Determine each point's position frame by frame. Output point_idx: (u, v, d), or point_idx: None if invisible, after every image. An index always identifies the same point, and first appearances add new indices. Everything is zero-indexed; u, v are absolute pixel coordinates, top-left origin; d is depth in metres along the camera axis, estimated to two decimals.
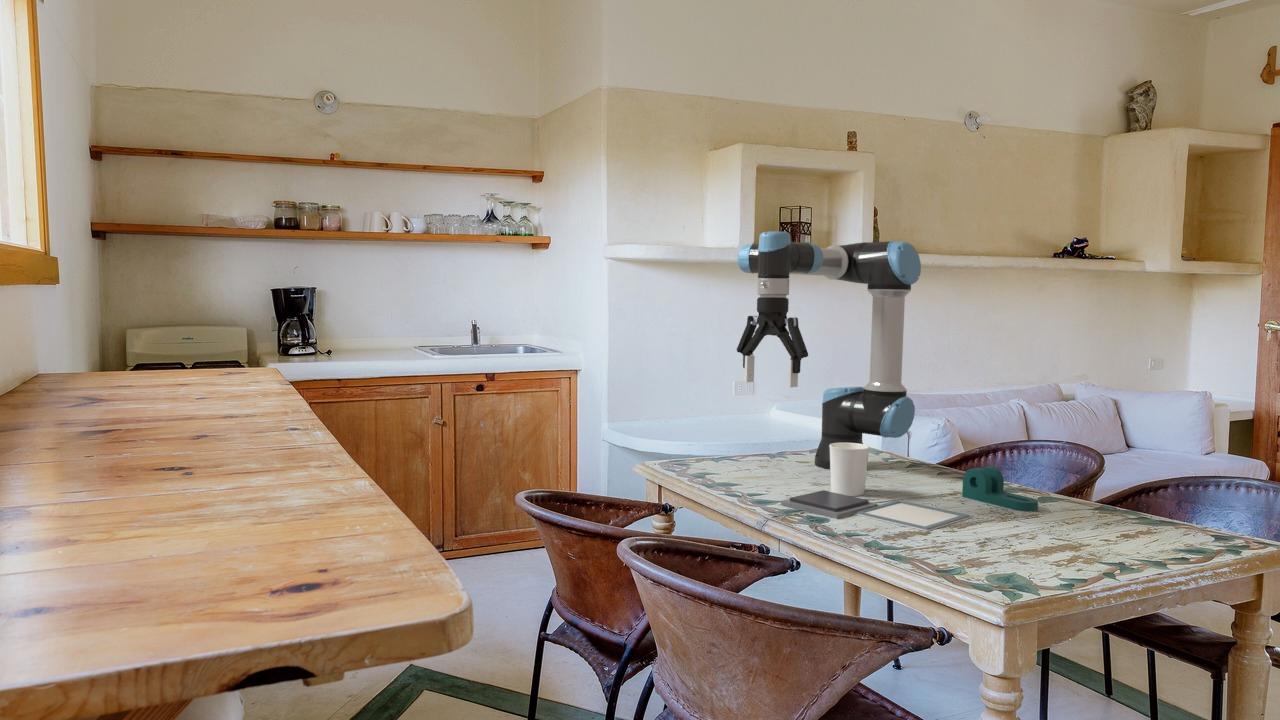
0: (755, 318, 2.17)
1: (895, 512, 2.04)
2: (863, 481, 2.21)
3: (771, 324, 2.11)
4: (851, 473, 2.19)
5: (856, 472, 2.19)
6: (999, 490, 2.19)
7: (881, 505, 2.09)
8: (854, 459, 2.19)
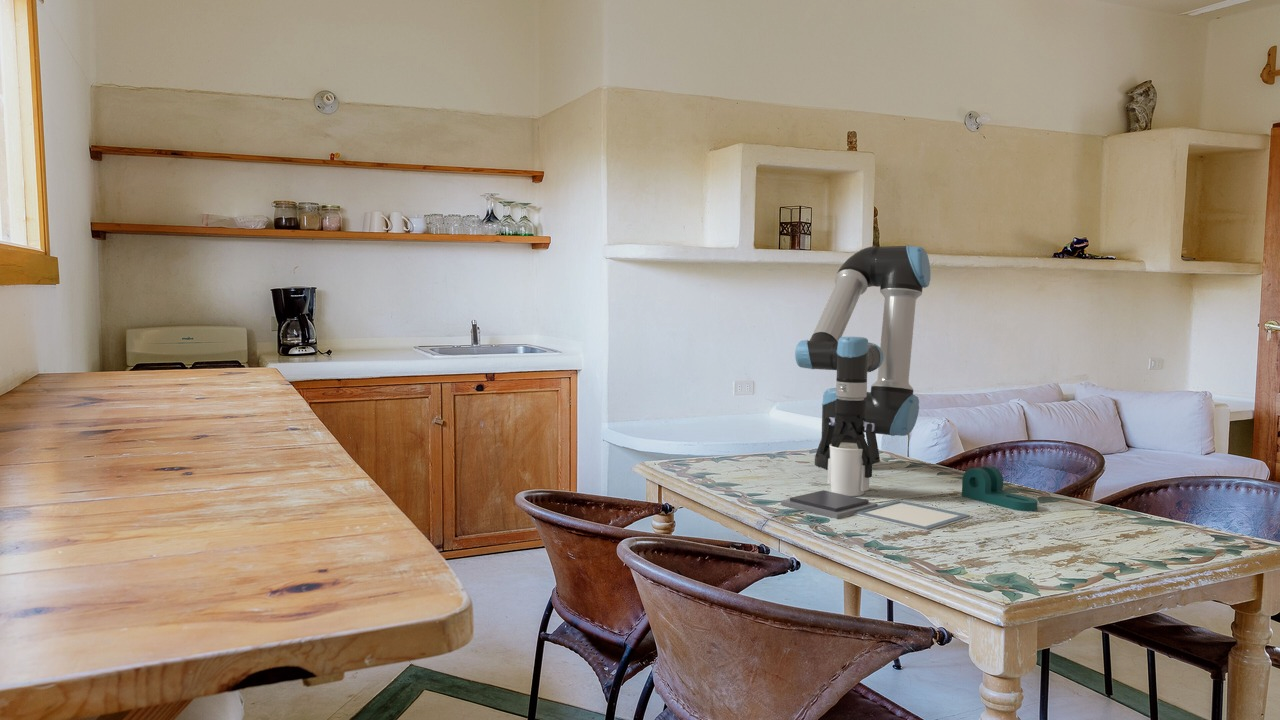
0: (832, 419, 2.26)
1: (895, 512, 2.04)
2: None
3: (850, 426, 2.21)
4: (851, 473, 2.19)
5: (856, 472, 2.19)
6: (999, 490, 2.19)
7: (881, 505, 2.09)
8: (854, 459, 2.19)
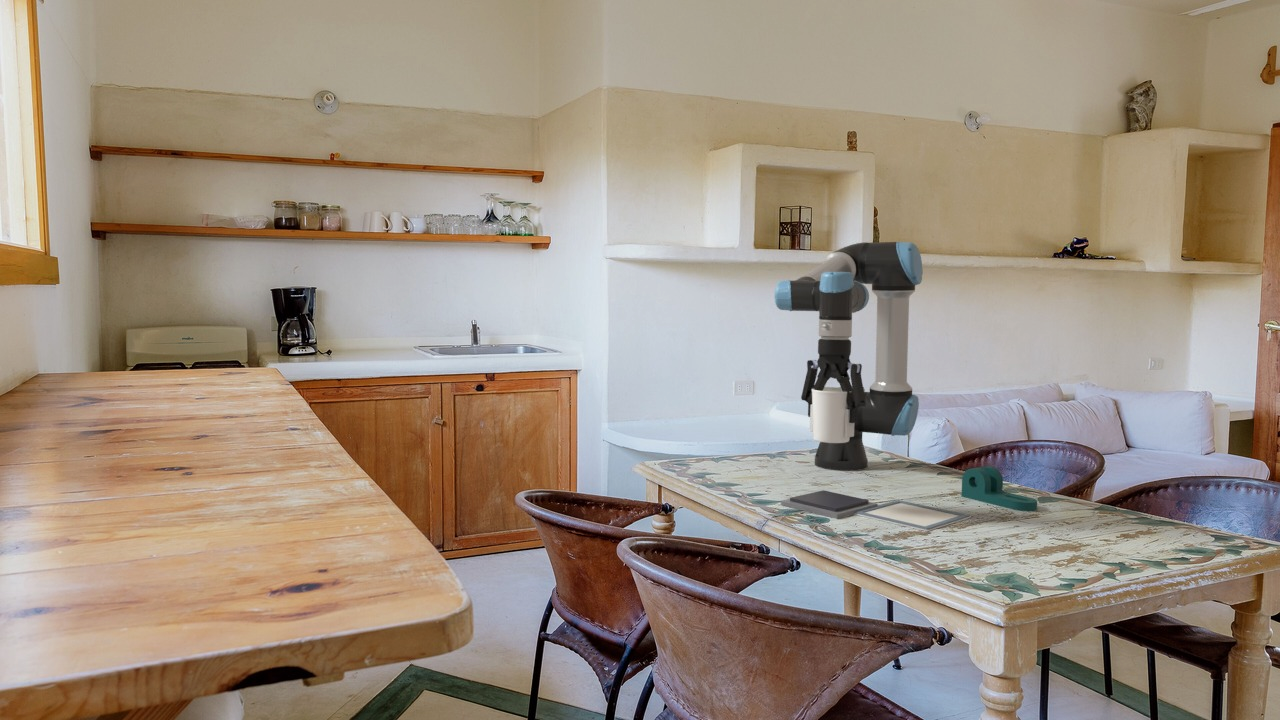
0: (815, 361, 2.10)
1: (895, 512, 2.04)
2: None
3: (833, 367, 2.04)
4: (835, 418, 2.03)
5: (840, 417, 2.03)
6: (998, 490, 2.19)
7: (881, 505, 2.09)
8: (838, 403, 2.03)
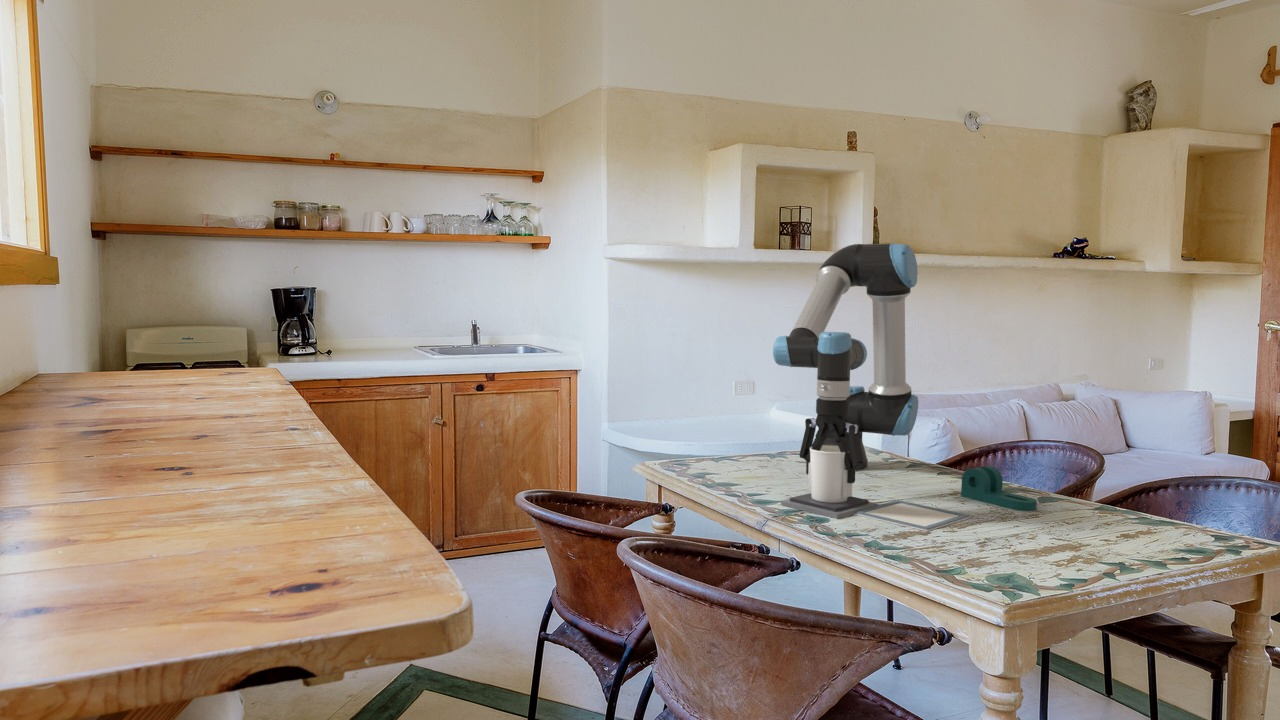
0: (813, 420, 2.11)
1: (895, 512, 2.04)
2: None
3: (831, 427, 2.05)
4: (833, 478, 2.04)
5: (838, 477, 2.04)
6: (998, 490, 2.19)
7: (881, 505, 2.09)
8: (836, 463, 2.04)
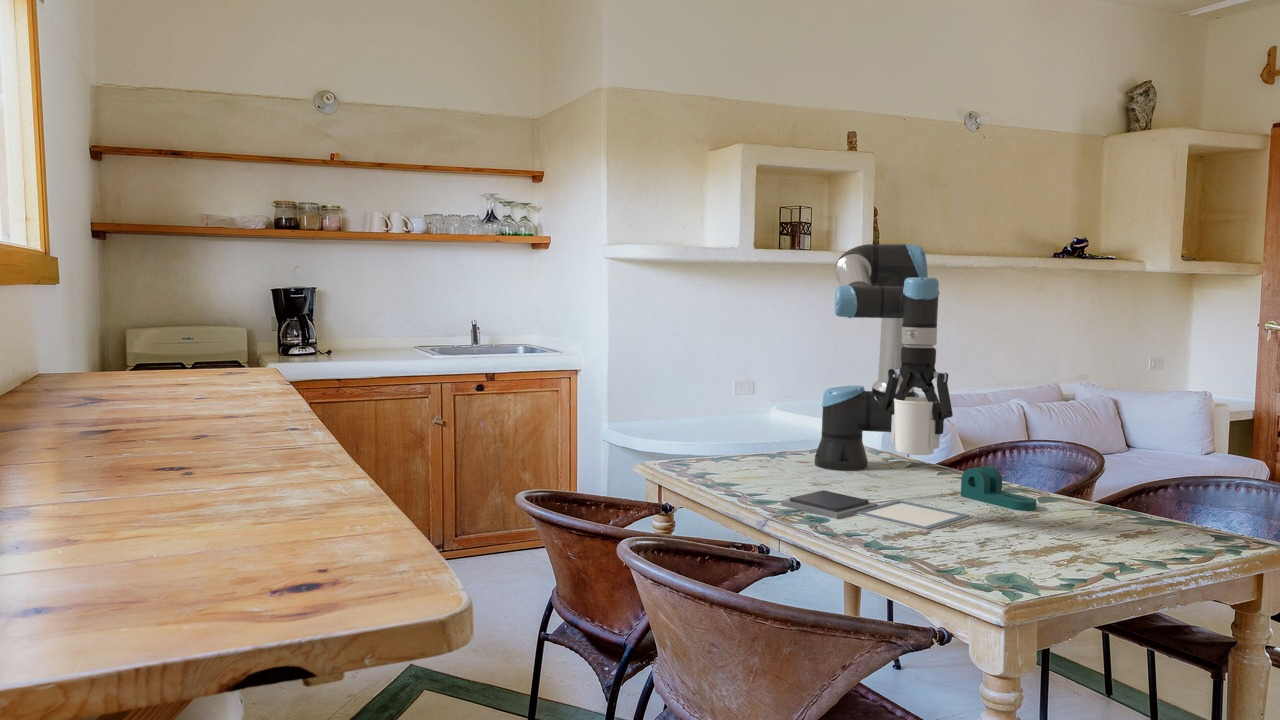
0: (897, 370, 2.03)
1: (895, 512, 2.04)
2: None
3: (918, 376, 1.97)
4: (920, 429, 1.96)
5: (925, 428, 1.96)
6: (997, 490, 2.19)
7: (881, 505, 2.09)
8: (923, 413, 1.95)
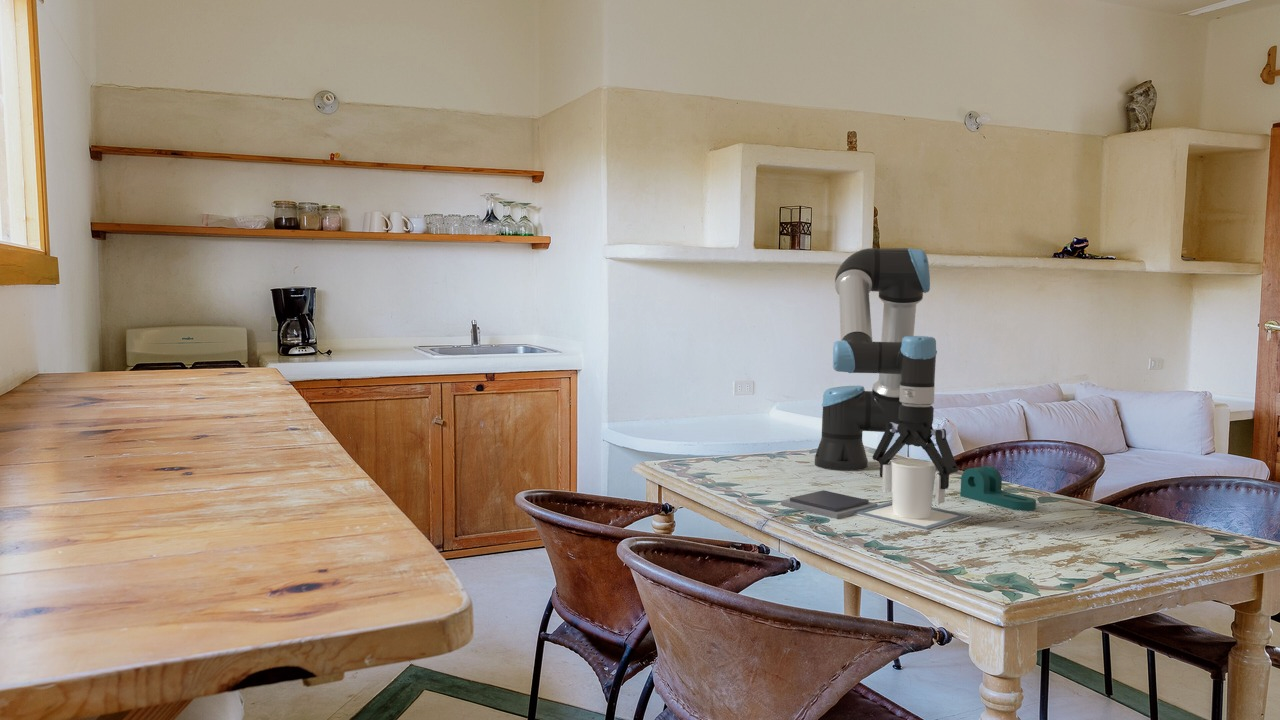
0: (895, 425, 2.04)
1: None
2: (930, 502, 1.99)
3: (916, 435, 1.98)
4: (917, 494, 1.97)
5: (923, 492, 1.97)
6: (997, 490, 2.19)
7: (881, 505, 2.09)
8: (921, 478, 1.96)
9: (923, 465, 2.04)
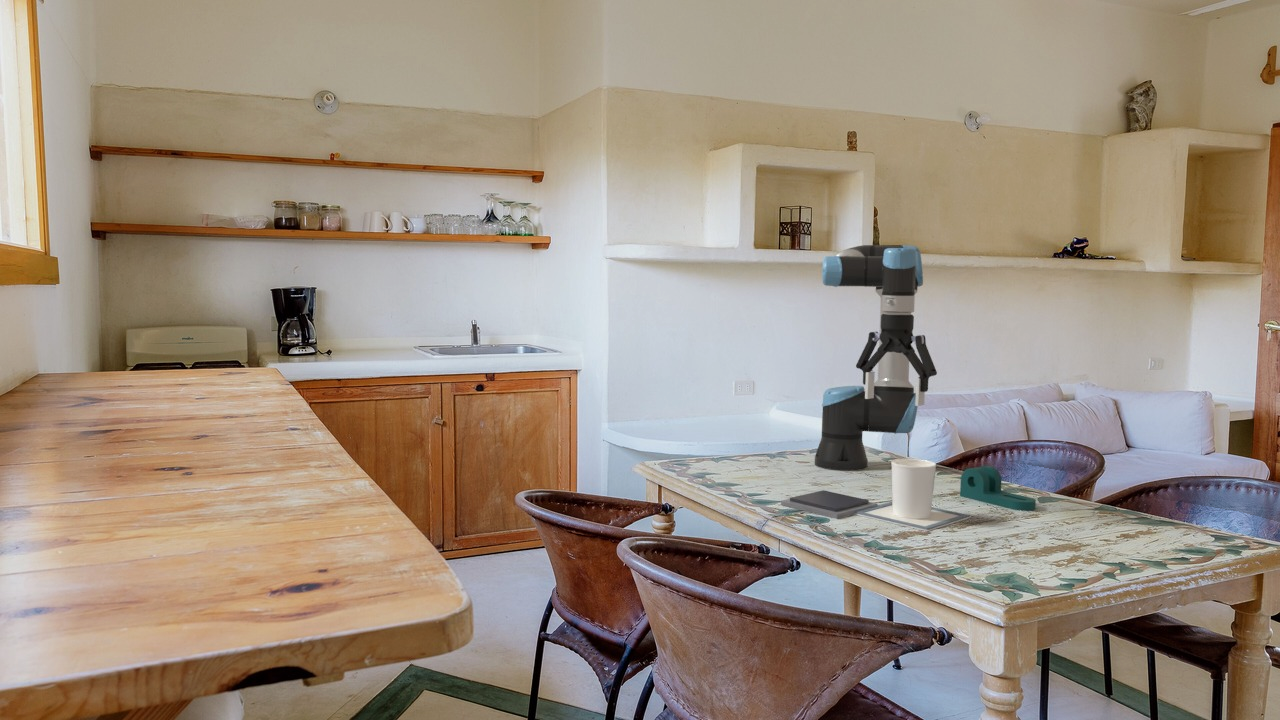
0: (877, 334, 2.14)
1: None
2: (930, 502, 1.99)
3: (897, 342, 2.09)
4: (917, 494, 1.97)
5: (922, 492, 1.97)
6: (997, 489, 2.19)
7: (881, 505, 2.09)
8: (920, 478, 1.96)
9: (923, 465, 2.04)
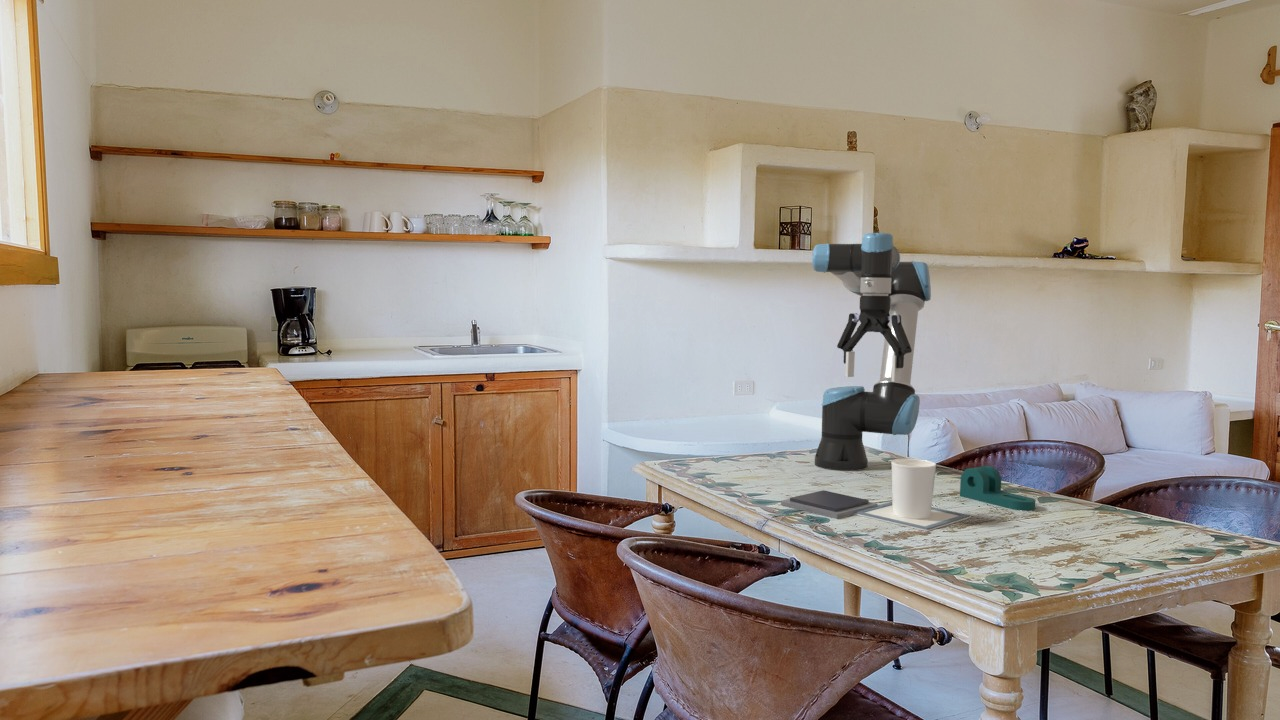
0: (856, 316, 2.27)
1: None
2: (930, 502, 1.99)
3: (874, 321, 2.21)
4: (917, 494, 1.97)
5: (922, 492, 1.97)
6: (997, 489, 2.19)
7: (881, 505, 2.09)
8: (920, 478, 1.96)
9: (923, 465, 2.04)
